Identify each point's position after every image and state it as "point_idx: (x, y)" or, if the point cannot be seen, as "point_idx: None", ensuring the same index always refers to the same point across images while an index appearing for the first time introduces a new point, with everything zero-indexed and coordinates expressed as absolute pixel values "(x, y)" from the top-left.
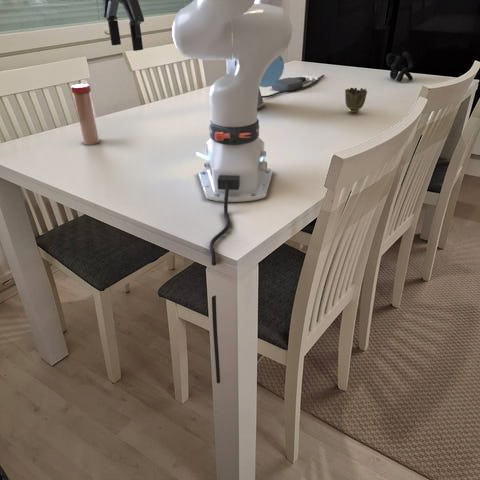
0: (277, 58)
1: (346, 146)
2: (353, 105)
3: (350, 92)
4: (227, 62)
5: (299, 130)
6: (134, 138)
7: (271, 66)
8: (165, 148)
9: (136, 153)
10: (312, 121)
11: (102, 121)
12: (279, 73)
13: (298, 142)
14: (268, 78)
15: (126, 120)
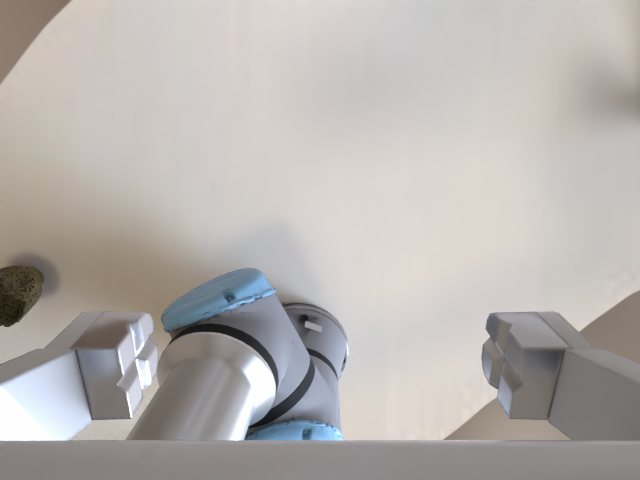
0: (176, 310)
1: (50, 31)
2: (20, 268)
3: (17, 317)
4: (336, 409)
5: (163, 158)
6: (561, 126)
7: (201, 294)
8: (487, 45)
9: (558, 13)
10: (132, 223)
11: (636, 257)
12: (183, 296)
13: (166, 69)
14: (218, 280)
15: (578, 261)
